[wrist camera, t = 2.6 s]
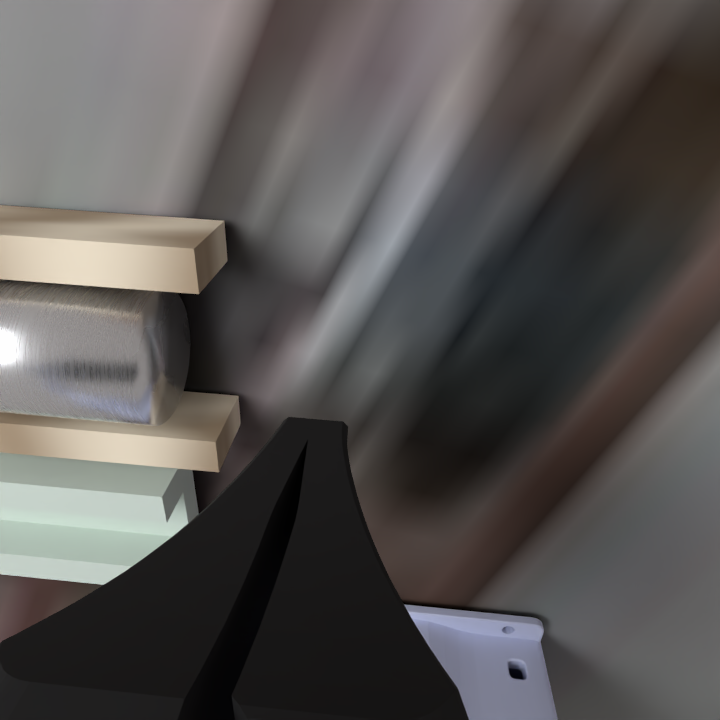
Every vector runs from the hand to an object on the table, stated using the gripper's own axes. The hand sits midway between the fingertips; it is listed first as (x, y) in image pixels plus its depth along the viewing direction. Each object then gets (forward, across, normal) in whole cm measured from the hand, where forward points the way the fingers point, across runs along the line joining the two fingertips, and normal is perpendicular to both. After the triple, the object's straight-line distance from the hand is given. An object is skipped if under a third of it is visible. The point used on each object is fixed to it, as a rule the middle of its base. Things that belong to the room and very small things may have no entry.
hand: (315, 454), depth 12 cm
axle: (+4, +10, 0) cm, 10 cm away
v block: (+6, +10, +7) cm, 13 cm away
